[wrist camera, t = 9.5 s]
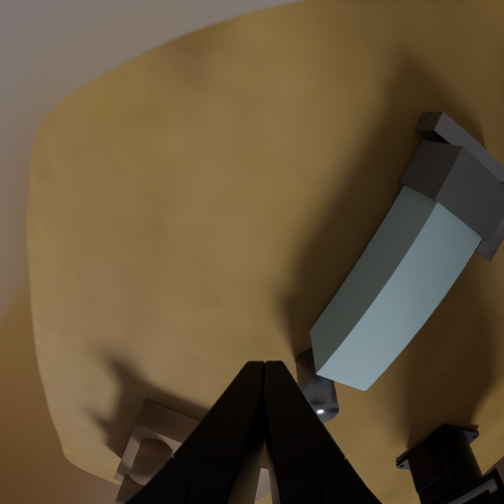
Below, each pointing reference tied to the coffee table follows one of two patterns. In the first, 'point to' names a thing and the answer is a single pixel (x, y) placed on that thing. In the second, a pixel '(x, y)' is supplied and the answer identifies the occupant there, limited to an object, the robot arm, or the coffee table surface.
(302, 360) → the pivot pin
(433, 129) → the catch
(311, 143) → the coffee table surface
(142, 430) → the stool seat
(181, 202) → the coffee table surface
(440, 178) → the hinged leg
